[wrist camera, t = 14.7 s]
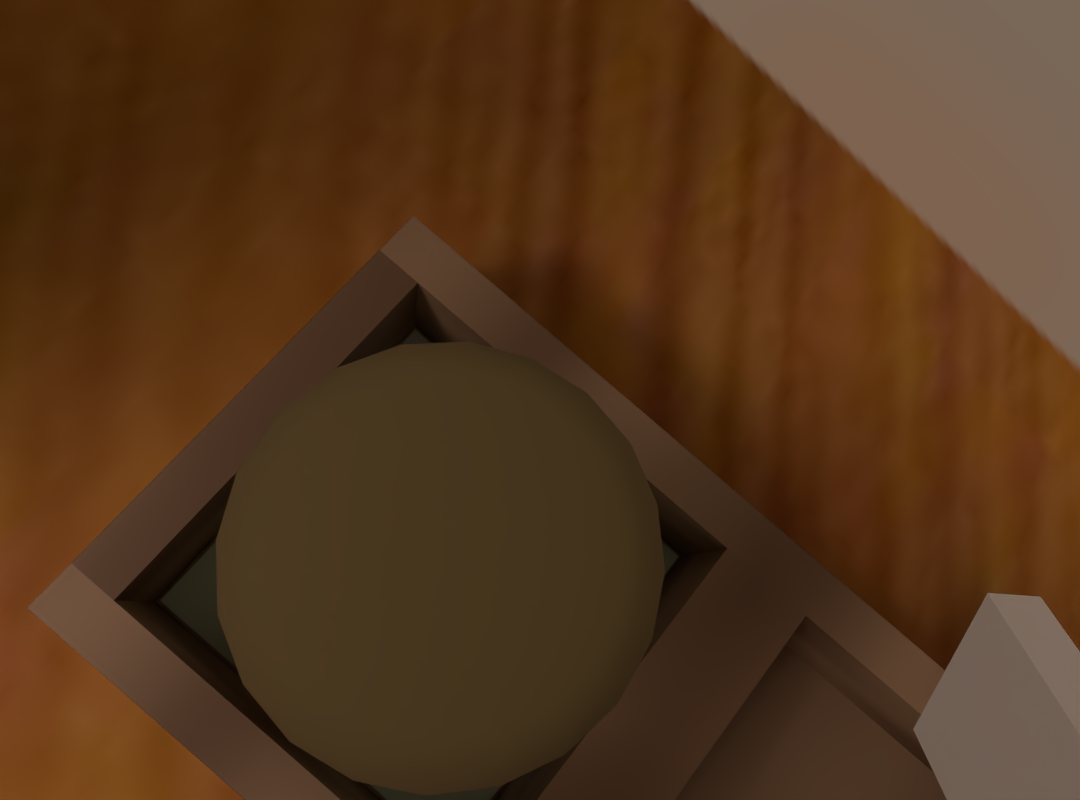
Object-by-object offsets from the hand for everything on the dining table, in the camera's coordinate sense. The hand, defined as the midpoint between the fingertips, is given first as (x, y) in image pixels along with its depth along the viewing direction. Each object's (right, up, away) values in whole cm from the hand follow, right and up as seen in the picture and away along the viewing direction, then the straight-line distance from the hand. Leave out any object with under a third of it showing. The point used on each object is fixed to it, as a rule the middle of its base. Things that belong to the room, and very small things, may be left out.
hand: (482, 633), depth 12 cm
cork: (-2, -1, +8) cm, 8 cm away
